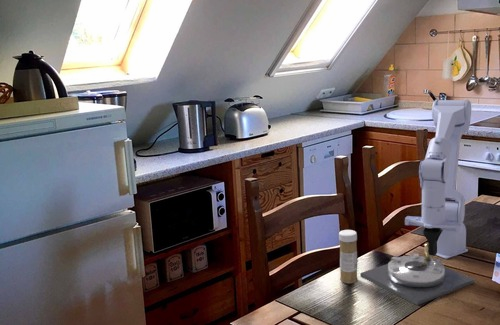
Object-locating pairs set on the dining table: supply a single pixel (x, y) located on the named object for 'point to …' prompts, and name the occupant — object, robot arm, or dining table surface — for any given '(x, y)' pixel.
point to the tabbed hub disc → (416, 270)
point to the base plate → (417, 293)
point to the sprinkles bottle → (348, 256)
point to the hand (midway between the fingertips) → (432, 254)
